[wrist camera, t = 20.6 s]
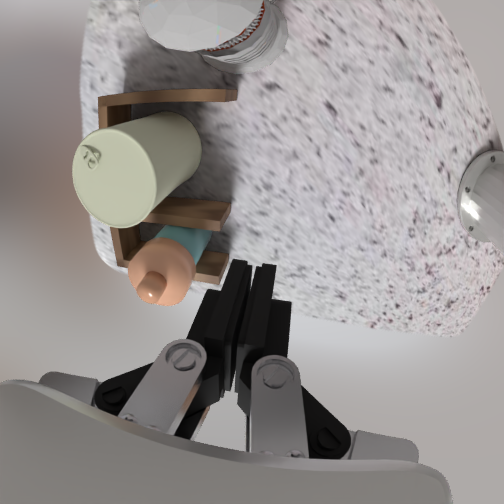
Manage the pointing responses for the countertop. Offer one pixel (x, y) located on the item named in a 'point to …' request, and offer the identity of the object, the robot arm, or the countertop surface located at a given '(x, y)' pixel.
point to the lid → (162, 271)
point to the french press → (219, 30)
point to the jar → (188, 238)
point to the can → (134, 166)
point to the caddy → (170, 208)
